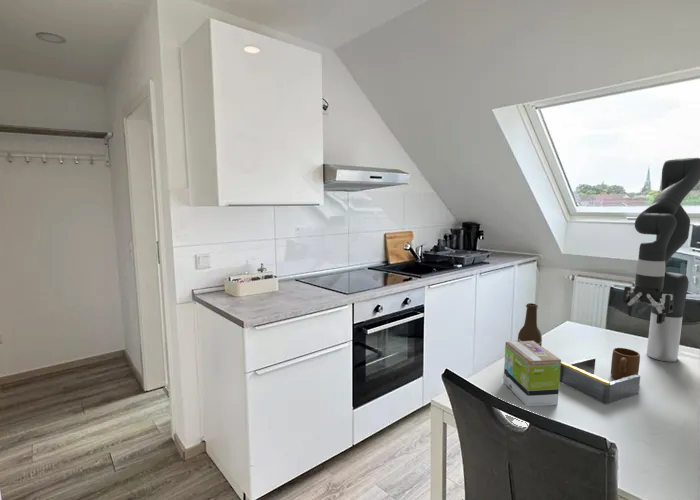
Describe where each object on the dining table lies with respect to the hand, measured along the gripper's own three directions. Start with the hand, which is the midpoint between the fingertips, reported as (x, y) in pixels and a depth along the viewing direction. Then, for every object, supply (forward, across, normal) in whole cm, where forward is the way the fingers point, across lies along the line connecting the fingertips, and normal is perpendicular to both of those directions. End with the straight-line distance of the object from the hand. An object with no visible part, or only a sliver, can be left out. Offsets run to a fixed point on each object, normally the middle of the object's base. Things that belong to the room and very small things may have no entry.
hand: (645, 319), depth 129 cm
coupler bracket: (+20, 0, +22) cm, 30 cm away
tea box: (+20, +6, +46) cm, 50 cm away
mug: (+20, 0, +9) cm, 22 cm away
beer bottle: (+20, +19, +32) cm, 42 cm away
